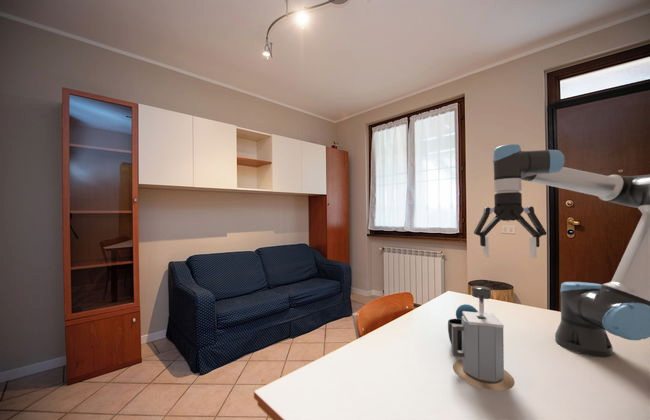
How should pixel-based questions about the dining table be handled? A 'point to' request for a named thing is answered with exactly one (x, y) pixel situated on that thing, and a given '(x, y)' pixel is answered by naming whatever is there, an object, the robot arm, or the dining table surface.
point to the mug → (459, 332)
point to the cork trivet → (503, 385)
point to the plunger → (481, 297)
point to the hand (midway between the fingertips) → (509, 256)
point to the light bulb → (464, 308)
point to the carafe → (480, 347)
